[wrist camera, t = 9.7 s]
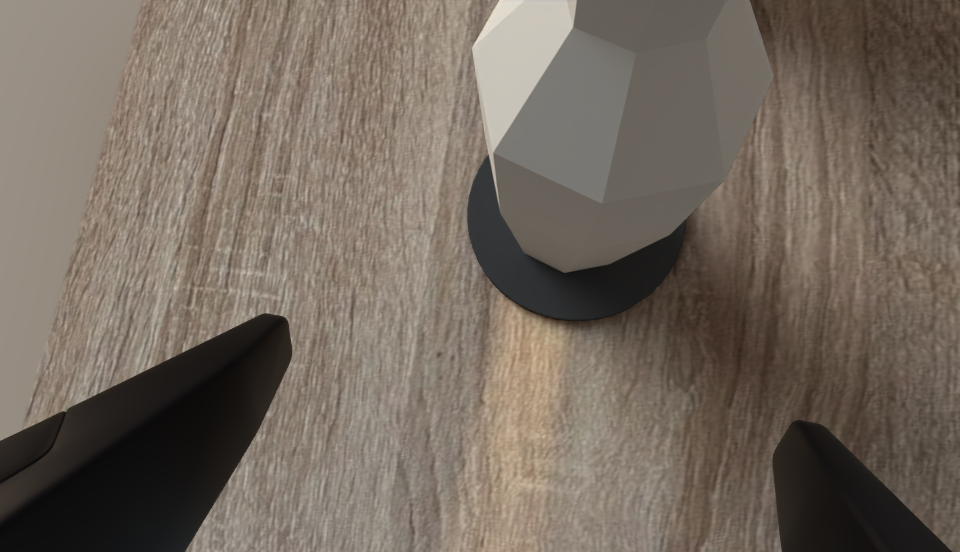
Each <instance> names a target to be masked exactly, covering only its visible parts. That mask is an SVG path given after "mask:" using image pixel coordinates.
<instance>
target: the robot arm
mask: <svg viewBox="0 0 960 552" xmlns="http://www.w3.org/2000/svg"><path fill="white" fill-rule="evenodd" d="M291 357H292V345H291V338H290V331H289V324H288V321H287V319H286V318H285V317H283V316H278V315H273V314H268V313H265V314H261V315H259V316H257V317H255V318H253V319H251V320H249V321H247V322H245V323H243V324H241V325H239V326H236V327H234V328H232V329H230V330H228V331H226V332H224V333H222V334H220V335H218V336H216V337H214V338H212V339H210V340H208V341H206V342H204V343H202V344H200V345H198V346H195V347H193V348H191V349H189V350H187V351H185V352H183V353H181V354H179V355H177V356H175V357H173V358H171V359H169V360H167V361H165V362H163V363H161V364H159V365H157V366H155V367H152V368H150V369H148V370H146V371H144V372H142V373H140V374H138V375H136V376H134V377H132V378H130V379H128V380H126V381H124V382H122V383H120V384H118V385H116V386H114V387H111V388H109V389H107V390H105V391H103V392H101V393H99V394H97V395H95V396H93V397H91V398H89V399H87V400H85V401H83V402H81V403H79V404H77V405H75V406H72V407H70V408H69V409H68V410H67V412H64V411H62V412H60V413H58V414H56V415H54V416H52V417H50V418H48V419H46V420H44V421H42V422H39V423H37V424H35V425H33V426H31V427H29V428H27V429H25V430H22V431H20V432H18V433H16V434H14V435H12V436H10V437H8V438H5V439H3V440H1V441H0V552H185V551H186V549H187V547H188V546H189V544H190V543H191V541H192V539H193V538H194V536H195V534H196V533H197V531H198V529H199V528H200V526H201V524H202V523H203V521H204V519H205V518H206V516H207V515H208V513H209V511H210V510H211V508H212V506H213V505H214V503H215V501H216V500H217V498H218V496H219V495H220V493H221V492H222V490H223V488H224V487H225V485H226V483H227V482H228V480H229V478H230V477H231V475H232V473H233V472H234V470H235V468H236V467H237V465H238V464H239V462H240V460H241V459H242V457H243V455H244V454H245V452H246V450H247V449H248V447H249V445H250V444H251V442H252V440H253V439H254V437H255V435H256V433H257V431H258V429H259V427H260V425H261V423H262V421H263V419H264V417H265V415H266V413H267V411H268V409H269V406H270V404H271V402H272V400H273V398H274V396H275V393H276V391H277V389H278V387H279V385H280V383H281V381H282V378H283V376H284V374H285V372H286V370H287V368H288V366H289V363H290V361H291ZM773 474H774V484H775V493H776V503H777V513H778V523H779V533H780V541H781V549H782V552H952V551H951V550H950V549H949V548H948V547H947V546H946V545H945V544H944V543H943V542H942V541H941V540H940V539H939V538H938V537H937V536H936V535H935V534H934V533H933V532H932V531H931V530H930V529H928V528H927V527H926V526H925V525H924V524H923V523H922V522H921V521H920V520H919V519H918V518H917V517H916V516H915V515H914V514H913V513H912V512H911V511H910V510H909V509H908V508H907V507H906V506H905V505H904V504H903V503H902V502H901V501H900V500H899V499H898V498H897V497H896V496H895V495H894V494H893V493H892V492H891V491H890V490H889V489H888V488H887V487H886V486H885V485H884V484H883V483H882V482H881V481H880V480H879V479H878V478H877V477H876V476H875V475H874V474H873V473H872V472H871V471H869V470H868V469H867V468H866V467H865V466H864V465H863V464H862V463H861V462H860V461H859V460H858V459H857V458H856V457H855V456H854V455H853V454H852V453H851V452H850V451H849V450H848V449H847V448H846V447H845V446H844V445H843V444H842V443H841V442H840V441H839V440H838V439H837V438H836V437H835V436H834V435H833V434H832V433H831V432H830V431H829V430H828V429H827V428H825V427H824V426H823V425H821V424H818V423H813V422H808V421H803V420H796V421H794V422H792V423H791V425H790V426H789V428H788V429H787V431H786V433H785V434H784V436H783V438H782V439H781V441H780V442H779V444H778V446H777V447H776V449H775V451H774V454H773Z"/></svg>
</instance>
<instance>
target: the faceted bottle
mask: <svg viewBox="0 0 960 552" xmlns="http://www.w3.org/2000/svg"><path fill="white" fill-rule="evenodd" d="M472 51H473V57H474V64H475V71H476V78H477V84H478V91H479V98H480V105H481V111H482V118H483V125H484V132H485V137H486V142H487V147H488V153H489V158H490V163H491V168H492V173H493V178H494V183H495V188H496V193H497V198H498V203H499V209H500V213H501V215H502V217H503V218H504V220H505V222H506V223H507V225H508V227H509V228H510V230H511V232H512V233H513V235H514V237H515V238H516V240H517V242H518V243H519V245H520V247H521V248H522V250H523V252H524V253H525V254H527V255H529V256H531V257H533V258H535V259H537V260H539V261H541V262H543V263H545V264H547V265H549V266H551V267H553V268H555V269H557V270H560V271H562V272H564V273H567V272H572V271H577V270H582V269H588V268H593V267H598V266H603V265H609V264H611V263H613V262H615V261H617V260H619V259H621V258H623V257H625V256H627V255H629V254H631V253H633V252H635V251H638V250H640V249H642V248H644V247H646V246H648V245H650V244H652V243H654V242H656V241H658V240H660V239H662V238H664V237H666V236H668V235H670V234H671V233H672V232H673V231H674V230H675V229H676V228H677V227H678V226H679V225H680V224H681V223H682V222H683V221H684V220H685V219H686V218H687V217H688V216H689V215H690V214H691V213H692V212H693V211H694V210H695V209H696V208H697V207H698V206H699V205H700V204H701V203H702V202H703V201H704V200H705V199H706V198H707V197H708V196H709V195H710V194H711V193H712V192H713V191H714V190H715V189H716V188H717V187H718V186H719V185H720V184H721V183H722V182H723V181H724V180H725V179H726V177H727V175H728V173H729V171H730V169H731V167H732V164H733V162H734V160H735V158H736V156H737V154H738V152H739V150H740V148H741V146H742V143H743V141H744V139H745V137H746V135H747V133H748V131H749V129H750V127H751V125H752V123H753V120H754V118H755V116H756V114H757V112H758V110H759V108H760V106H761V104H762V102H763V100H764V97H765V95H766V93H767V91H768V89H769V87H770V85H771V83H772V81H773V79H774V75H773V72H772V68H771V65H770V62H769V59H768V56H767V53H766V50H765V47H764V44H763V40H762V37H761V34H760V31H759V28H758V25H757V22H756V19H755V16H754V13H753V9H752V6H751V3H750V0H499V2H498V4H497V6H496V7H495V9H494V11H493V13H492V14H491V16H490V18H489V20H488V21H487V23H486V25H485V27H484V28H483V30H482V32H481V34H480V35H479V37H478V39H477V41H476V42H475V44H474V46H473V47H472Z"/></svg>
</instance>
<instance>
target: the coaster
mask: <svg viewBox="0 0 960 552" xmlns="http://www.w3.org/2000/svg"><path fill="white" fill-rule="evenodd" d="M685 220H686V219H685ZM685 220H684V221H683V222H682V223H681V224H680V225H679V226H678V227H677V228H676V229H675V230H674V231H673V232H672V233H671V234H670V235H668V236H666V237H664V238H662V239H660V240H658V241H656V242H654V243H652V244H650V245H648V246H646V247H644V248H642V249H640V250H638V251H635V252H633V253H631V254H629V255H627V256H625V257H623V258H621V259H619V260H617V261H615V262H613V263H611V264H609V265H603V266H598V267H593V268H588V269H582V270H577V271H572V272H567V273H564V272H562V271H560V270H557V269H555V268H553V267H551V266H549V265H547V264H545V263H543V262H541V261H539V260H537V259H535V258H533V257H531V256H529V255H527V254H525V253H524V252H523V250H522V248H521V247H520V245H519V243H518V242H517V240H516V238H515V237H514V235H513V233H512V232H511V230H510V228H509V227H508V225H507V223H506V222H505V220H504V218H503V217H502V215H501V213H500V209H499V203H498V198H497V193H496V188H495V183H494V178H493V173H492V168H491V163H490V158H489V155H488V156H487V157H486V159H485V160H484V162H483V163H482V165H481V167H480V168H479V170H478V172H477V175H476V177H475V179H474V181H473V184H472V188H471V191H470V195H469V202H468V216H467V222H468V230H469V236H470V240H471V244H472V247H473V250H474V253H475V255H476V257H477V260H478V262H479V264H480V266H481V267H482V269H483V271H484V272H485V274H486V275H487V277H488V278H489V279H490V280H491V282H492V283H493V284H494V285H495V286H496V287H497V288H498V289H499V290H500V291H501V292H502V293H503V294H504V295H505V296H506V297H508V298H509V299H510V300H512V301H513V302H514V303H516V304H518V305H519V306H521V307H523V308H525V309H527V310H529V311H531V312H534V313H536V314H539V315H541V316H545V317H548V318H552V319H557V320H565V321H589V320H596V319H601V318H605V317H609V316H612V315H615V314H618V313H620V312H622V311H625V310H627V309H629V308H630V307H632V306H634V305H635V304H637V303H639V302H640V301H642V300H643V299H644V298H646V297H647V296H648V295H649V294H651V293H652V292H653V291H654V290H655V289H656V288H657V287H658V286H659V285H660V284H661V283H662V281H663V280H664V279H665V277H666V276H667V275H668V273H669V272H670V270H671V269H672V267H673V265H674V263H675V261H676V259H677V257H678V254H679V251H680V249H681V246H682V242H683V237H684V233H685Z"/></svg>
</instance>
